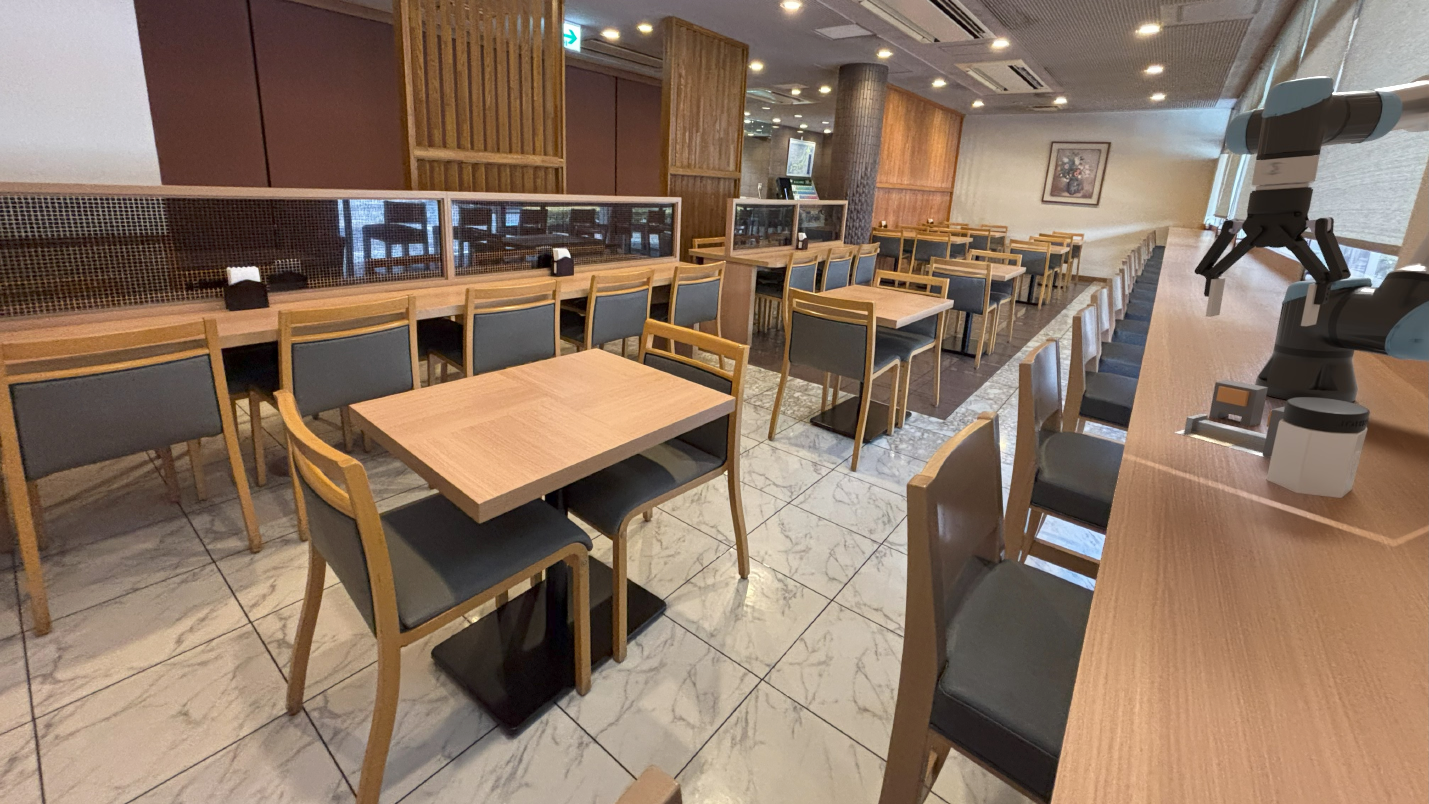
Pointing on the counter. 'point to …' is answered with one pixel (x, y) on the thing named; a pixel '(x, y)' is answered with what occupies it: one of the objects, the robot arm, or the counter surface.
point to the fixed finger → (1272, 429)
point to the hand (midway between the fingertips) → (1257, 320)
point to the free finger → (1238, 401)
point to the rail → (1224, 435)
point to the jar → (1318, 446)
